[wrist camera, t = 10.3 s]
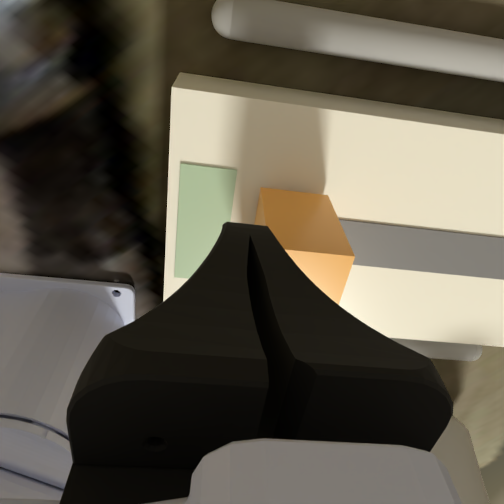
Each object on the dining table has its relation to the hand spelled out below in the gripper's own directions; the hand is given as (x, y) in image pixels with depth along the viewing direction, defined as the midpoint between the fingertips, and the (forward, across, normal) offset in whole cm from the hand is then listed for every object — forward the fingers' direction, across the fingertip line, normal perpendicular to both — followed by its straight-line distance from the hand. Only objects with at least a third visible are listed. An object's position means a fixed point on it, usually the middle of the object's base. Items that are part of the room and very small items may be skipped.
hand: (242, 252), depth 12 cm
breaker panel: (+9, -8, +3) cm, 13 cm away
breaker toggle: (+6, -3, +3) cm, 7 cm away
